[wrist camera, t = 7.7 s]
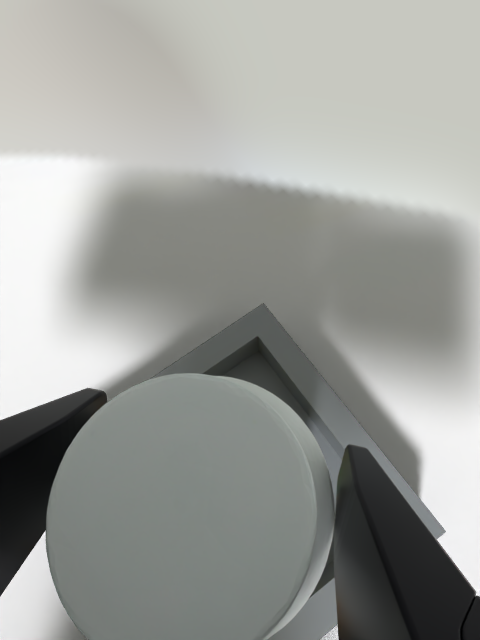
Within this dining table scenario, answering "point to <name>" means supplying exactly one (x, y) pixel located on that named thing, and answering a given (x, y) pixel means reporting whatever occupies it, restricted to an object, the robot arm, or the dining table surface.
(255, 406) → the supplement bottle
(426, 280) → the dining table surface
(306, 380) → the tray
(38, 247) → the dining table surface
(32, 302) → the dining table surface
